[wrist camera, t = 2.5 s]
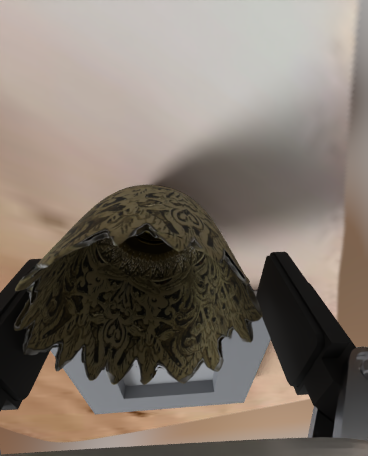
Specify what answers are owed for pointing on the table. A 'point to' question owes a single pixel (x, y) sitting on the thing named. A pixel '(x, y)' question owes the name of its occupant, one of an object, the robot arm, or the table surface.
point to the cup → (138, 289)
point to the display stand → (171, 389)
